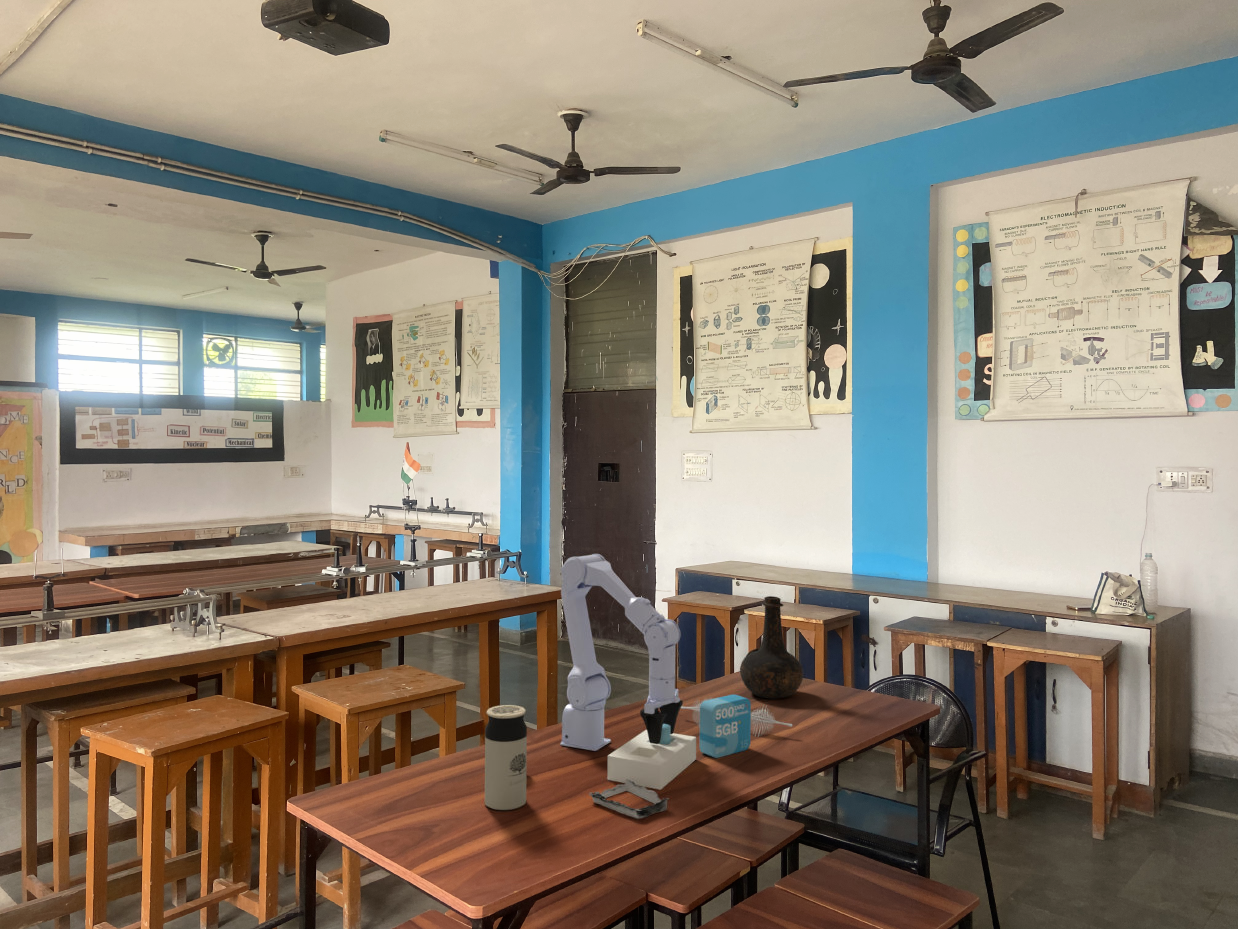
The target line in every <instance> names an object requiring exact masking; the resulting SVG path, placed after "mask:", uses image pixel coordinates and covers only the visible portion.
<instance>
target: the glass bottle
mask: <svg viewBox="0 0 1238 929" xmlns="http://www.w3.org/2000/svg"><path fill="white" fill-rule="evenodd" d="M763 599H764V602H762V605H763V606H764V620H763V631H762V639H761V645H760V647H759V648H754V649H752V650H750V651H748V653H747V654H746V656H744V658H743V660H742V661H741V664H740V667H739V673H740V677H741V678H740V679H741V680H742V683H743V684H744V686H745V687H746V688H747V690H749V691H750V693H752V694H753V695H755V696H757V697H760V698H762V699H763V698H764V699H776V700H778V699H783V698H787V697H789V696H791V695H792V694H794V693H795V692H797V691H798V689H799V687H800V686H801V684H802V682H803V679H804V669H803V667H802V664H801V662H800V661H799V659H798V658H797V657H796V656H794V655H793V654H791V653H790V652H789V651H788V650H787V649H786V648H787V647H786V646H785V645H786V644H785V640H784V636H783V627H782V616H781V614H782V612H781V607H784V604H783V603H781V598H780V597H777V596H773V595H771V596H765V597H764V598H763Z"/></svg>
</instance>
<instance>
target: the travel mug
mask: <svg viewBox="0 0 1238 929" xmlns="http://www.w3.org/2000/svg"><path fill="white" fill-rule="evenodd" d="M526 712H527V710H526V709H525V708H524V707H523V706H519V705H515V704H504V705H503V704H502V705H495V706H492V707H489V708H488V709H487V710H486V715H488V716H487V717H488V721H487V724H486V725H485V729H484V730H485V731H484V733H485V734H484V804H485V806H486V807H488V808H491V809H492V810H496V811H512V810H516V809H519V808H521V807H522V806H524V805H525V804H526V802H527V764H528V763H527V756H528V755H527V754H528V752H527V751H528V750H527V748H528V746H527V743H528V741H527V739H528V738H527V737H528V736H527V735H528V732H527V731H528V726H527V724H526V722H525V720H524V716H525V714H526Z"/></svg>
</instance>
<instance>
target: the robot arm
mask: <svg viewBox="0 0 1238 929" xmlns="http://www.w3.org/2000/svg"><path fill="white" fill-rule="evenodd" d="M611 565H612V564H611V563H610V561H608V560H606V559H605V557H604V556H603V555H601V554H599V553H592V554H588V555H582V556H571V557H569V558H567V559H566V561H565V562H564V563H563V565H562V566H561V567H560V574H561V579H562V582H561V587H560V596H561V602H562V608H563V612H564V619H565V623H566V630H567V636H568V642H569V646H570V654H571V659H572V665H573V667H572V668H571V670H570V671H569V674H568V676H567V690H566V697H567V700H568V702H569V703H567V705H565V707H564V709H563V711H562V717H561V731H562V732H561V742H560V744H559V745H560V746H565V747H569V748H570V747H571V748H576V749H582V750H587V751H594V752H596V751H599V750H600V749H601V748H603V747H604V746H605V745H606V746H607V745H608V744H609V743H611V742H612V740H611V739H610V738H605V705H606V703H607V702H606V701H607V699H608V698H609V697H610V695H611V693H612V686H611V683H610V680H609V679H608V677H607V676H606V675H607V674H606V671H605V668H604V667H603V666H602V665H600V664H599V663H598V662H597V656H596V651H595V650H596V649H595V645H594V639H593V635H592V629H591V622H590V617H589V611H588V606H587V605H588V604H587V600H586V596H587V595H588V592H590V590H591V589H592V587H594V586H598V587H600V588H602V589H603V590H605V591H606V592H607V593H608V594H609V595H610V596H611V597H612V598H614V600H616V601H617V603H619V604H620V605H621V606H622V607H623V608H624V615H625V617H626V618H627V619H628V620H629V621H630V622H631V623H632V624H633V625H634V626H635V627H636V628H637V629H638V630H639V632H641V634H643V639H644V642H645V645H646V646H647V650H648V656H649V657H648V658H649V659H648V663H649V664H648V666H649V668H648V670H649V671H648V674H649V675H648V696H647V700H646V702H645V703H644V705H643V707H644V708H642V709H641V710H640V711H639V714H640V717H641V719H642V721H643V723H644V725H645V728H646V729H645V730H647V733H648V737H649V741H650V743H653V744H659V743H660V740H661V733H662V726H663V724H668V725H670V726H671V728H670V734H673V733H675V729H676V728H675V727H676V722H677V718H678V716H679V714H680V713H679V712H680V711H681V709H682V708H681V706H683V704H684V701H683V700H682V699H681V697H679V689H678V688H676V644H677V643H679V641H680V640H681V636H682V635H681V634H682V633H681V630H680V627H679V625H678V624H677V622H676V621H675V620H673V619H669V618H665V616H664V615H663V614H661V613H659V611H657V609H656V608H654V606H652V604H651V600H649V599H648V598H644V597H641V596H639V597H636V596H635V594H634V593H633V591H631V590H630V589H629V588H628V587H627V585H626V584H625V583H624V582H623V581H622V579H620V577H619V576H618V575H617V574H616V573H615V572H614V570H613V568H612V566H611ZM677 645H678V644H677Z"/></svg>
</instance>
